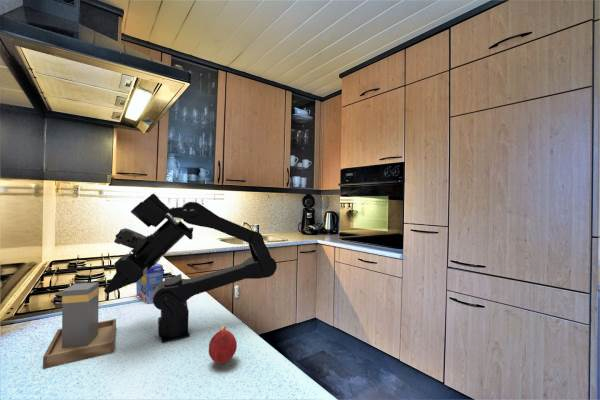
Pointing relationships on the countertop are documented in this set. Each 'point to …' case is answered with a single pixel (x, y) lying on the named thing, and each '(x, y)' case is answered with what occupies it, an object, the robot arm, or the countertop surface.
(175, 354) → the countertop surface
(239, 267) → the robot arm
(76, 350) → the tray
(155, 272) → the ink cartridge box
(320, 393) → the countertop surface
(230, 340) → the onion
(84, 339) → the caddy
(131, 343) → the countertop surface
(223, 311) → the countertop surface
